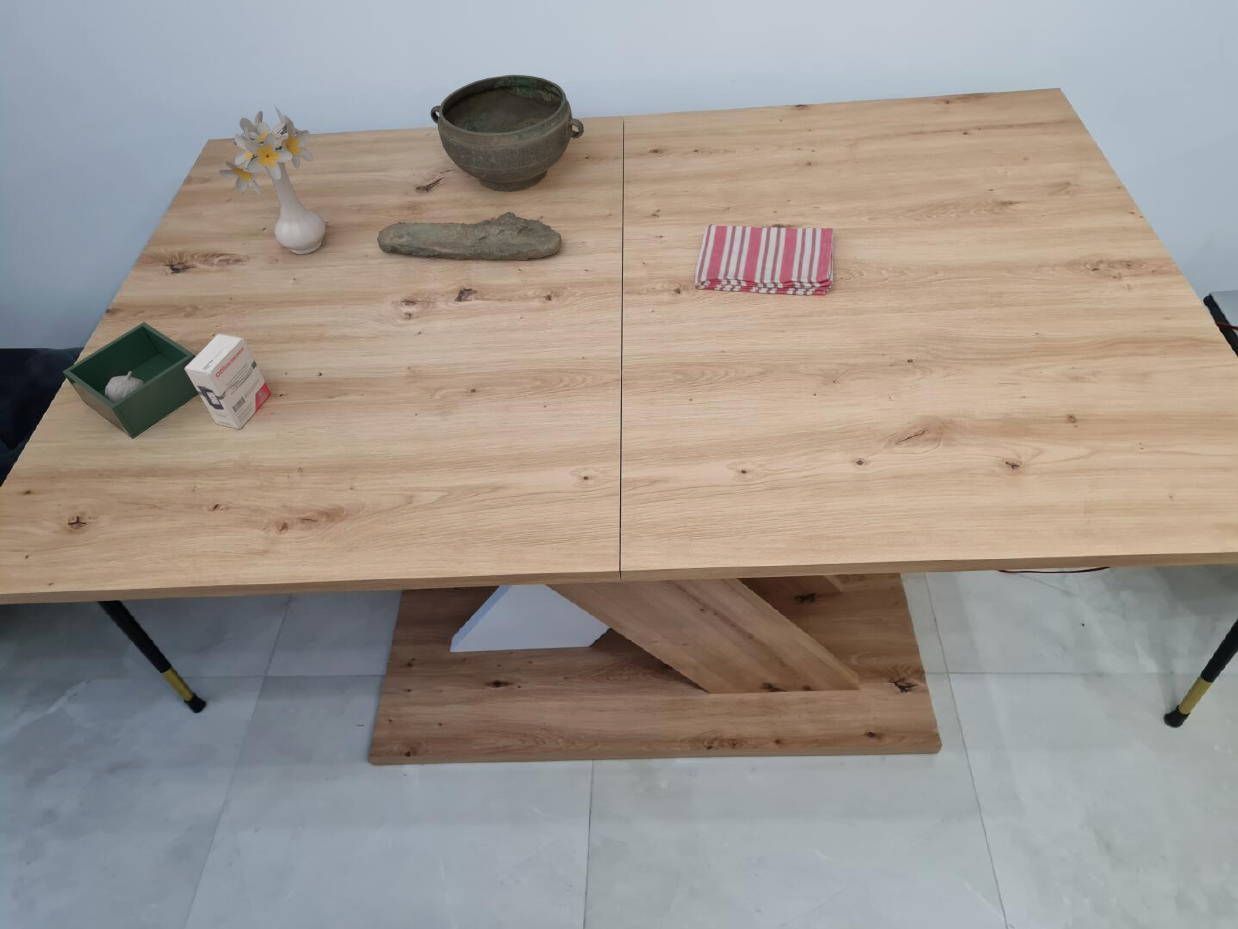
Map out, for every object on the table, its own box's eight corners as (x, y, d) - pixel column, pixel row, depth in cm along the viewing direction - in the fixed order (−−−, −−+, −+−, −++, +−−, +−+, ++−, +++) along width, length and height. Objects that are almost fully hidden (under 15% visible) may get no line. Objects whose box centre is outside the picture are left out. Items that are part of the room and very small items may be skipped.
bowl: (608, 147, 188) (602, 76, 177) (566, 216, 172) (557, 143, 160) (467, 134, 196) (453, 65, 185) (415, 199, 180) (396, 128, 168)
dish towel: (832, 297, 150) (834, 280, 147) (692, 290, 154) (692, 273, 151) (833, 238, 161) (835, 221, 159) (703, 233, 165) (703, 216, 162)
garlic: (126, 390, 145) (128, 362, 142) (153, 404, 144) (155, 376, 141) (94, 401, 140) (96, 372, 137) (122, 417, 139) (124, 388, 136)
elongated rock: (392, 234, 174) (376, 267, 168) (383, 211, 170) (366, 244, 164) (567, 231, 167) (557, 266, 161) (562, 207, 163) (552, 242, 157)
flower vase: (254, 276, 166) (198, 150, 147) (293, 219, 178) (245, 96, 159) (321, 278, 164) (272, 151, 145) (355, 220, 176) (314, 96, 157)
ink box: (247, 387, 145) (217, 330, 136) (272, 393, 144) (244, 336, 135) (214, 424, 140) (181, 367, 131) (240, 430, 138) (209, 373, 130)
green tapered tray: (132, 439, 139) (111, 408, 134) (83, 401, 145) (62, 371, 141) (211, 385, 146) (194, 354, 141) (161, 351, 153) (144, 321, 148)
